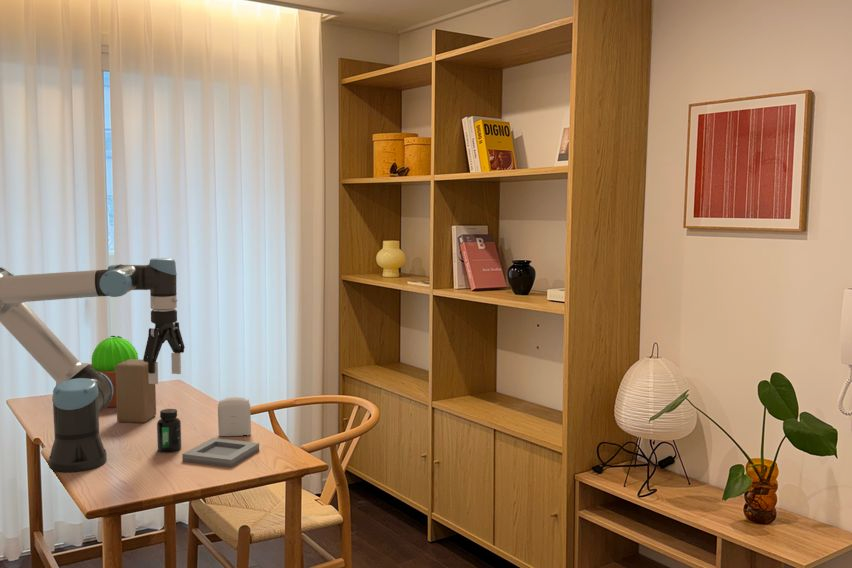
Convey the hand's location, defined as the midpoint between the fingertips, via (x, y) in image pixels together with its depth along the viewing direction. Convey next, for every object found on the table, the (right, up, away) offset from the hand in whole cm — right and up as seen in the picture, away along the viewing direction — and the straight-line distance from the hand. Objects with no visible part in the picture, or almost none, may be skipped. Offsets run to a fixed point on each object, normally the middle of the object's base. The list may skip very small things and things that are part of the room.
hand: (165, 378), depth 236 cm
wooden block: (-20, -18, +31) cm, 41 cm away
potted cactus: (-36, -15, +53) cm, 66 cm away
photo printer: (+18, -20, +14) cm, 30 cm away
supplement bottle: (+2, -22, -1) cm, 22 cm away
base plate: (+19, -22, -6) cm, 30 cm away
